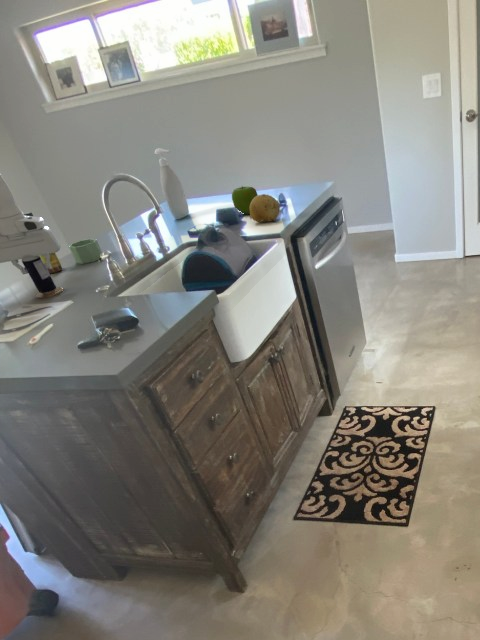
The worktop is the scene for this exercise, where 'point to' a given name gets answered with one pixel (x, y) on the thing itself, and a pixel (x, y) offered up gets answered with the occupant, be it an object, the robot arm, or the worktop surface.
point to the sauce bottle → (53, 257)
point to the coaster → (57, 291)
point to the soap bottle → (172, 188)
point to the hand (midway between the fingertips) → (37, 271)
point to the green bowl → (86, 251)
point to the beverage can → (39, 274)
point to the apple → (243, 198)
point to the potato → (264, 208)
